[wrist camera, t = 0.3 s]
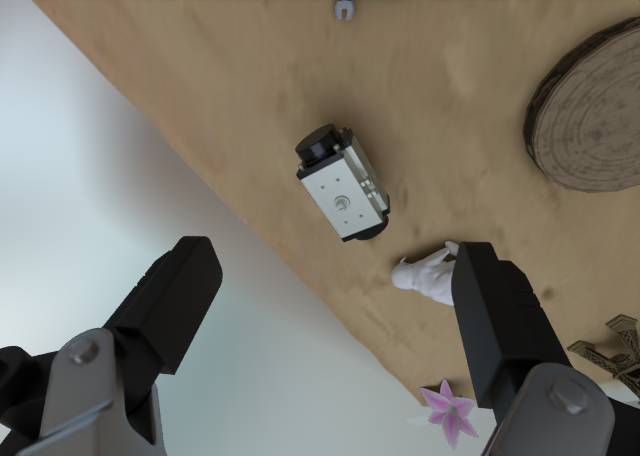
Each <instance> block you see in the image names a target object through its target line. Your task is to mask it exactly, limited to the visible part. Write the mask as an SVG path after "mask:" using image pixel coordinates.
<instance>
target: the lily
mask: <svg viewBox="0 0 640 456" xmlns="http://www.w3.org/2000/svg"><path fill="white" fill-rule="evenodd" d="M420 391H421V393H422V395H423V397H424V398H425V400H426V402H427V403H428V404H429V406H430V407H431V408H432V409H433V411H432V412H431V414H430V416H429V418H428V421H429V422H431V423H434V424H441V425H442V430H443V433H444V435H445V438H446V440H447V442H448V444H449V446H450V447H451V449H452V450H455V448H456V445H457V442H458V438H459V434H460V430H461V431H463V432H464V433H466V434H468V435H471V436H473V437H477V438H478V437H479V436H478V434H477V433H476V431H475V430H474V428H473V427H472V425H471V424H470V423H469V421H468V420H467V419H466V417H467V416H468V414H469V413H470V411H471V409H472V408H473V406H474V401H473V400H472V399H468V398H461V397H462V396H460V398H459V397H454V396H453V394H452V392H451V389H450V387H449V385H448V383H447V381H446V379H443V382H442V385H441V389H440V394H438V393H436V392H433V391H430V390H428V389H425V388H420Z"/></svg>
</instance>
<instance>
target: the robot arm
mask: <svg viewBox="0 0 640 456" xmlns="http://www.w3.org/2000/svg"><path fill="white" fill-rule="evenodd" d="M222 275H223V274H222V268H221V265H220V263H219V260H218V258H217V255H216V253H215V251H214V248H213V246H212V243H211V241H210V239H209V238H208V237H205V236H184V237H182V238H181V239H180V240H179V241H178V243H177V244H176V245H175V247H174V248H173V249H172V250H171V251H168V252H167V253H165V254H164V255H163V256H161V257H160V258H159V259H157V260H156V261H155V262H154V263H153V264H152V266H151V267H150V268H149V269H148V271H147V272H146V273H145V276H143V277H142V278H141V279H140V281H139V282H138V283H137V286H135V287H134V288H133V289H132V291H131V292H130V293H129V295H128V296H127V297H126V298H125V299H124V301H123V302H122V303H121V305H120V306H119V307H118V308H117V309H116V311H115V312H114V313H113V315H112V316H111V317H110V318H109V320H108V321H107V322H106V323H105V325H104V326H103V327H102V328H94V329H90V330H87V331H85V332H83V333H81V334H79V335H77V336H75V337H74V338H72V339H71V340H70V341H68V342H67V343H66V344H65V345H64V346H63V347H62V348H61V349H60V350H59V351H55V352H50V353H46V354H42V355H37V356H33V357H32V356H31V355H29V354H28V353H27V352H26V351H24V350H23V349H22V348H21V347H18V346H8V347H5V348H1V349H0V423H1V424H3V425H4V426H6V427H8V428H10V429H11V431H10V433H9V434H8V435H7V436H6V438H5V439H4V440H3V442H2V443H1V444H0V456H167V454H166V451H165V447H164V440H163V433H162V424H161V415H160V408H159V399H158V390H157V386H156V384H155V380H156V378H157V376H158V375H159V373H162V374H171V375H175V373H176V371H177V369H178V367H179V365H180V363H181V361H182V359H183V357H184V355H185V354H186V352H187V350H188V348H189V346H190V344H191V342H192V340H193V338H194V336H195V334H196V332H197V330H198V328H199V326H200V325H201V323H202V321H203V319H204V317H205V315H206V313H207V311H208V309H209V307H210V305H211V303H212V301H213V299H214V297H215V295H216V294H217V292H218V290H219V288H220V286H221V283H222V277H223V276H222ZM451 294H452V300H453V304H454V308H455V312H456V317H457V321H458V325H459V329H460V333H461V338H462V342H463V346H464V350H465V354H466V359H467V363H468V367H469V371H470V375H471V380H472V384H473V388H474V392H475V396H476V400H477V405H478V408H487V409H493V411H494V415H495V419H496V422H497V425H496V427H495V429H494V431H493V433H492V435H491V437H490V438H489V441H488V443H487V444H486V446H485V448H484V450H483V452H482V454H481V456H640V409H638V408H635V407H633V406H630V405H627V404H624V403H622V402H619V401H617V400H614V399H612V398H610V397H608V396H606V394H605V393H604V392H603V390H602V389H601V388H600V387H599V386H598V385H597V384H596V383H595V382H594V381H593V380H591V379H590V378H589V377H587V376H586V375H584V374H583V373H581V372H580V371H578V370H576V369H574V368H573V366H572V365H571V363H570V361H569V359H568V357H567V355H566V354H565V352H564V350H563V348H562V346H561V344H560V342H559V340H558V338H557V336H556V334H555V332H554V330H553V328H552V326H551V324H550V322H549V320H548V318H547V316H546V314H545V312H544V310H543V308H542V307H540V302H539V300H538V298H537V297H536V295H535V294H534V293H533V289H532V287H531V285H530V283H529V281H528V279H527V277H526V275H525V274H524V273H523V272H522V271H521V270H520V269H519V268H518V267H517V266H516V265H514V264H513V263H512V262H511V261H505V260H498V258H497V255H496V253H495V251H494V249H493V246H492V244H491V243H490V242H461V243H460V244H459V248H458V252H457V256H456V261H455V265H454V269H453V274H452V278H451Z"/></svg>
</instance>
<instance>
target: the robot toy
mask: <svg viewBox="0 0 640 456" xmlns="http://www.w3.org/2000/svg"><path fill="white" fill-rule="evenodd" d="M342 9H347V18H346V20H350V19H352V18H353V16H354V12H355V6H354V3H353V0H337V3H336V5H335V7H334V11H335V17H336V18H337V19H338V20H343V18H342Z"/></svg>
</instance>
